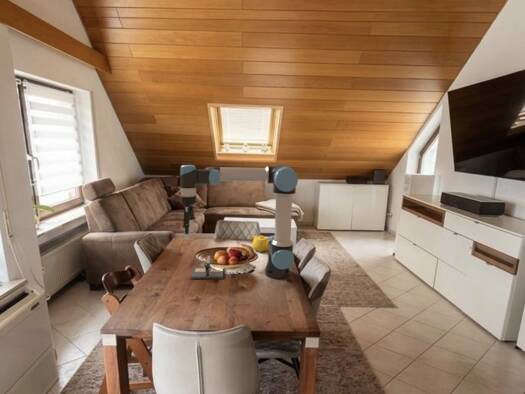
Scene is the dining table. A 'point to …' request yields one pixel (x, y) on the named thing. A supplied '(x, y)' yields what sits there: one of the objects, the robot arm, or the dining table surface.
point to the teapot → (260, 243)
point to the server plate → (206, 273)
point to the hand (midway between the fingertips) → (189, 235)
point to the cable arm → (207, 262)
